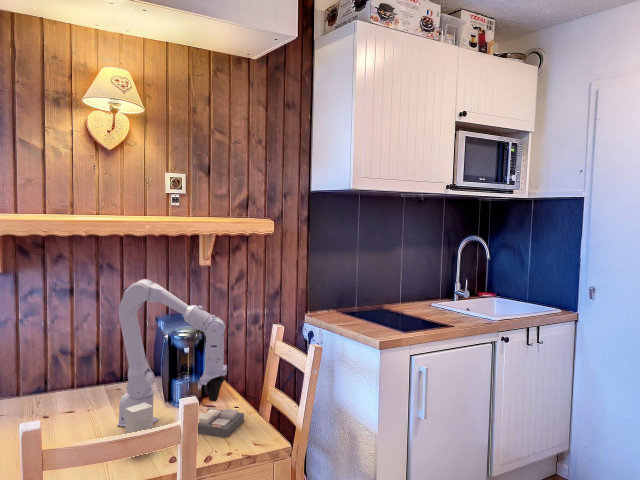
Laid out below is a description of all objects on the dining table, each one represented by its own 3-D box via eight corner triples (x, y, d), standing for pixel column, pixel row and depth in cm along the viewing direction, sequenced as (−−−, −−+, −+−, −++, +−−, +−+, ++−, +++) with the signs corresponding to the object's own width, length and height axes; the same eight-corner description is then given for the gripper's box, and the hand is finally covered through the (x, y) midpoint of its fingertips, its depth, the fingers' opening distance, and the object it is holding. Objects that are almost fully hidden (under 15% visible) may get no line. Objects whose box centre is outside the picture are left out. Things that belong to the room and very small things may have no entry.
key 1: (195, 424, 142) (195, 417, 141) (202, 419, 145) (202, 412, 145) (207, 426, 141) (207, 419, 140) (213, 421, 144) (213, 414, 144)
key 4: (220, 419, 145) (220, 413, 145) (225, 414, 149) (226, 408, 149) (232, 421, 144) (232, 415, 144) (237, 416, 148) (237, 410, 148)
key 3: (211, 430, 140) (211, 423, 140) (217, 424, 144) (218, 418, 144) (224, 431, 139) (224, 425, 139) (230, 426, 143) (230, 419, 143)
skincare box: (144, 444, 132) (145, 401, 132) (152, 449, 129) (153, 405, 129) (123, 451, 127) (124, 407, 127) (132, 457, 125) (132, 412, 124)
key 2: (204, 420, 147) (204, 414, 147) (210, 415, 151) (210, 409, 151) (215, 422, 146) (216, 415, 146) (221, 417, 150) (221, 411, 150)
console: (188, 431, 140) (188, 422, 140) (208, 415, 152) (208, 407, 152) (226, 437, 137) (226, 428, 137) (243, 420, 149) (243, 412, 149)
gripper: (215, 365, 140) (214, 410, 140) (236, 352, 154) (234, 394, 154) (193, 362, 141) (192, 407, 142) (216, 350, 155) (215, 391, 156)
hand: (213, 400), depth 148 cm, fingers closed
